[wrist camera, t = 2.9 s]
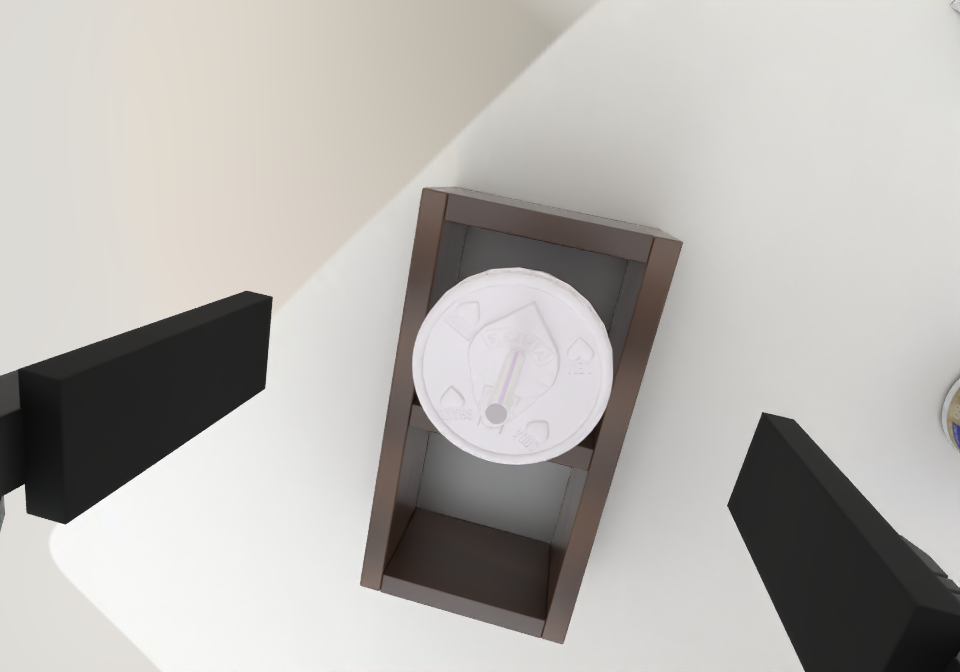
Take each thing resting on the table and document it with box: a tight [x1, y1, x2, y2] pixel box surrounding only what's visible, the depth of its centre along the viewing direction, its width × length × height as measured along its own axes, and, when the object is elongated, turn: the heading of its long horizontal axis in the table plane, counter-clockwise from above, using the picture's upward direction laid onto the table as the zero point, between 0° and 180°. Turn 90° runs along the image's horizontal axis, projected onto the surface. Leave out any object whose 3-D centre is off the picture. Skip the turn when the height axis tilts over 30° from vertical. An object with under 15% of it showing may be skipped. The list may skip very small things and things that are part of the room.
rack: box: [360, 187, 683, 644], centre depth 25 cm, size 18×10×6 cm, turn 169°
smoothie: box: [412, 267, 613, 465], centre depth 20 cm, size 6×6×14 cm
